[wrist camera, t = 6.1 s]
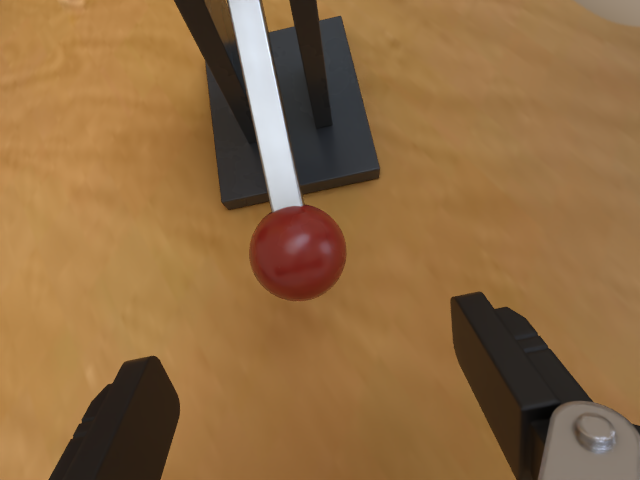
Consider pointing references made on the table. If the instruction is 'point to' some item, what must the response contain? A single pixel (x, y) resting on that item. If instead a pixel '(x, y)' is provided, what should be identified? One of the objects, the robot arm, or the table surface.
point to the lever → (282, 178)
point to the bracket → (285, 102)
